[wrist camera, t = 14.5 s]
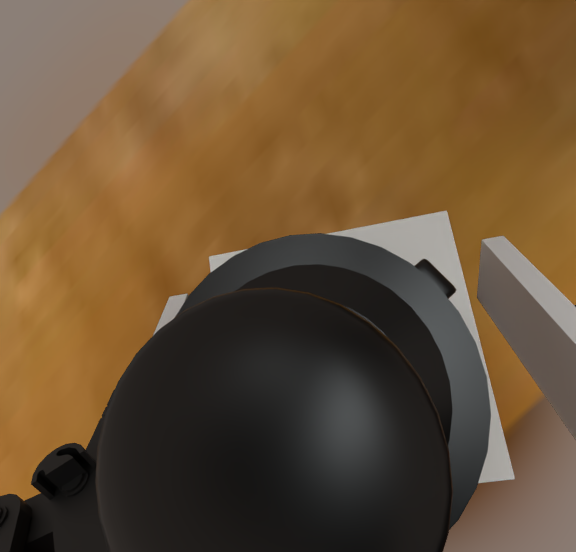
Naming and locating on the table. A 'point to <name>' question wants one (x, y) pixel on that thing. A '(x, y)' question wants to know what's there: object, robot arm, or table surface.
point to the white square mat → (443, 256)
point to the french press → (298, 410)
